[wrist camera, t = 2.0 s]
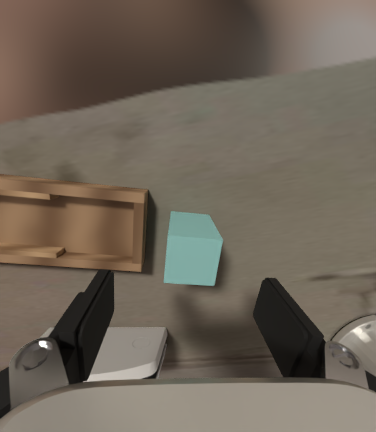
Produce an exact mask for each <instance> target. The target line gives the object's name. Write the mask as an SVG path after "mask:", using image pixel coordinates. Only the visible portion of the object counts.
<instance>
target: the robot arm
mask: <svg viewBox="0 0 376 432" xmlns="http://www.w3.org/2000/svg"><path fill="white" fill-rule="evenodd" d="M113 312H114V273H113V272H111V271H110V270H109V269H99V271H98V272H97V274H96V275H95V277H94V278H93V280H92V281H91V283H90V284H89V286H88V288H87V289H86V291H85V292H80V293H78V295H77V296H76V297H75V299H74V300H73V301H72V303H71V304H70V306H69V307H68V309H67V310H66V312H65V313H64V314H63V316H62V317H61V319H60V320H59V322H58V323H57V325H56V326H55V327H54V329H53V330H52V332H51V333H50V335H49V336H48V337H44V338H39V339H36V340H33V341H31V342H29V343H28V344H26V345H24V346H23V347H22V348H21V349H19V350H18V351H17V352H16V354H15V355H14V356H13V357H12V359H11V361H10V364H9V367H8V368H6V369H4V370H2V371H0V432H376V315H370V316H366V317H362V318H360V319H357V320H355V321H353V322H351V323H349V324H348V325H346V326H345V327H344V328H342V329H341V330H340V331H339V332H338V333H337V334H336V335H335V336H334V338H333V339H332V341H327V342H325V340H324V339H323V338H324V335H323V334H322V333H321V332H320V331H319V329H318V328H317V327H316V326H315V325H314V323H313V322H312V321H311V320H310V319H309V317H308V316H307V315H306V314H305V313H304V311H303V310H302V309H301V308H300V307H299V305H298V304H297V303H296V302H295V301H294V299H293V298H292V297H291V296H290V295H289V293H288V292H287V291H286V290H285V289H284V287H283V286H282V285H281V284H280V283H279V281H278V280H277V279H276V278H265V280H263V281H262V284H261V287H260V291H259V294H258V298H257V301H256V305H255V308H254V312H253V316H254V319H255V321H256V323H257V325H258V327H259V329H260V331H261V333H262V335H263V337H264V339H265V341H266V343H267V345H268V347H269V349H270V351H271V353H272V355H273V357H274V360H275V362H276V364H277V366H278V368H279V370H280V372H281V374H282V376H283V377H277V378H174V379H127V380H101V381H90V382H83V381H87V380H88V378H89V376H90V373H91V371H92V368H93V365H94V363H95V360H96V357H97V355H98V352H99V350H100V347H101V344H102V342H103V339H104V337H105V334H106V331H107V329H108V326H109V323H110V321H111V318H112V316H113Z"/></svg>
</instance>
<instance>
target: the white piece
mask: <svg viewBox="0 0 376 432" xmlns="http://www.w3.org/2000/svg"><path fill="white" fill-rule="evenodd" d="M53 329H54V328H49V329H48V330H47V331H46V332H45V333H44V334H43V335H42V336H41V337H40V338H44V337H48V336H49V335H50V333H51V332H52V330H53ZM166 338H167V329H166V327H108V329H107V331H106V334H105V337H104V339H103V342H102V344H101V347H100V350H99V352H98V355H97V357H96V360H95V363H94V365H93V368H92V371H91V373H90V376H89V378H88V380H87V381H83V382H90V381H101V380H127V379H158V378H159V374H160V370H161V367H162V363H163V361H164V356H165V352H166V347H167V344H165V341H166Z"/></svg>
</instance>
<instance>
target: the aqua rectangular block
mask: <svg viewBox="0 0 376 432" xmlns="http://www.w3.org/2000/svg"><path fill="white" fill-rule="evenodd" d="M222 243H223V239H222V237H221V236H220V234H219V232H218V230H217V228H216V227H215V225H214V223H213V221H212V219H211V218H210V216H209V215H205V214H195V213H184V212H174V211H171V216H170V224H169V231H168V240H167V252H166V263H165V274H164V283H175V284H191V285H207V286H214V285H215V280H216V274H217V269H218V264H219V258H220V253H221V248H222Z"/></svg>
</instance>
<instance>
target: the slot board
mask: <svg viewBox="0 0 376 432" xmlns="http://www.w3.org/2000/svg"><path fill="white" fill-rule="evenodd" d="M147 205H148V190H147V189H137V188H127V187H118V186H108V185H99V184H89V183H80V182H70V181H61V180H51V179H42V178H32V177H23V176H13V175H4V174H0V262H2V263H17V264H32V265H47V266H62V267H77V268H92V269H109V270H122V271H137V272H141V270H142V267H143V264H144V261H145V245H146V225H147Z"/></svg>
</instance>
